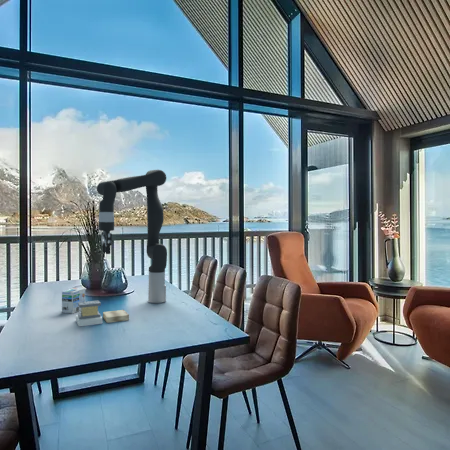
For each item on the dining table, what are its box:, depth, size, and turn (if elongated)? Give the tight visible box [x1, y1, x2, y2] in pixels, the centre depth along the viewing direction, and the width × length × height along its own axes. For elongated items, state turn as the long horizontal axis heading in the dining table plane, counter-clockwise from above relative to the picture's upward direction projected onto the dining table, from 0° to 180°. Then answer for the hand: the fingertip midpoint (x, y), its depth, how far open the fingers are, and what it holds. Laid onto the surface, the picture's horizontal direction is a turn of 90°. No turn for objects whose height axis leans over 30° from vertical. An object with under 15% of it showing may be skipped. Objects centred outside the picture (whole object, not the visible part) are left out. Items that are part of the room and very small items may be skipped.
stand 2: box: [102, 309, 130, 324], centre depth 169 cm, size 10×10×2 cm
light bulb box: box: [61, 287, 86, 314], centre depth 182 cm, size 11×7×11 cm, turn 168°
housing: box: [77, 300, 102, 319], centre depth 163 cm, size 9×6×6 cm, turn 120°
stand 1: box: [75, 314, 103, 327], centre depth 163 cm, size 10×10×2 cm
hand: (106, 253), depth 179 cm, fingers open, 8 cm apart
